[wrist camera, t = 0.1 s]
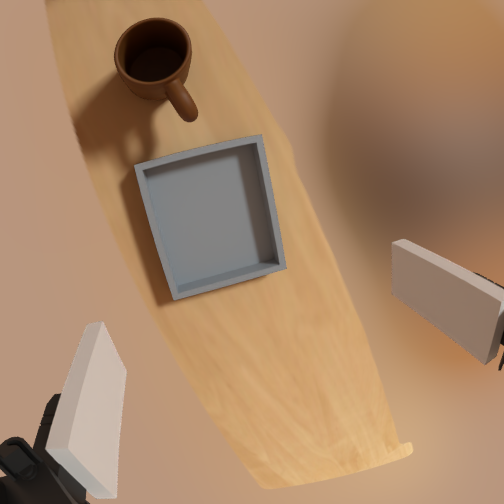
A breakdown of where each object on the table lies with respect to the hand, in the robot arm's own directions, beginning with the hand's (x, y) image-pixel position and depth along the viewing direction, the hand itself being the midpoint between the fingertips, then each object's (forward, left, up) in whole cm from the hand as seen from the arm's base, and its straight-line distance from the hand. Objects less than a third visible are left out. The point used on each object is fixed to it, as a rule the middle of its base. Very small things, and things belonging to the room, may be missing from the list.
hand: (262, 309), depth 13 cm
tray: (+2, +1, -28) cm, 28 cm away
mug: (-15, -1, -28) cm, 32 cm away
